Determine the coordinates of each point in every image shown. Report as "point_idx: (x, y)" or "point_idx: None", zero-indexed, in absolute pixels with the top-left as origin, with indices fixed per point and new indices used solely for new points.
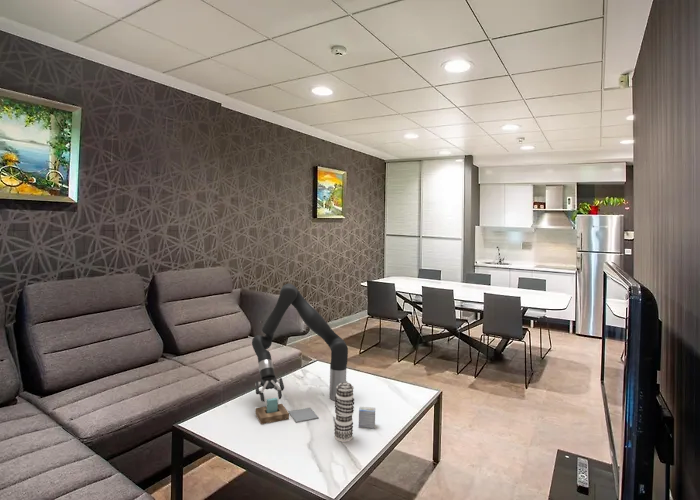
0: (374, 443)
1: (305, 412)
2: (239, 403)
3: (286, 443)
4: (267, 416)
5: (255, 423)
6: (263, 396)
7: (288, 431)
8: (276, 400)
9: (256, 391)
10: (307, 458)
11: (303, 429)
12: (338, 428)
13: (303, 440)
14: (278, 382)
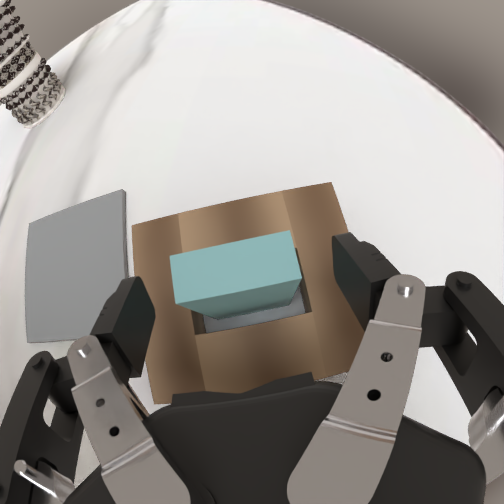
0: None
1: (53, 289)
2: None
3: (213, 60)
4: (287, 201)
5: (359, 220)
6: (356, 253)
7: (183, 121)
8: (186, 255)
9: (467, 344)
10: (175, 23)
11: (117, 135)
12: (46, 68)
13: (150, 74)
14: (61, 481)
